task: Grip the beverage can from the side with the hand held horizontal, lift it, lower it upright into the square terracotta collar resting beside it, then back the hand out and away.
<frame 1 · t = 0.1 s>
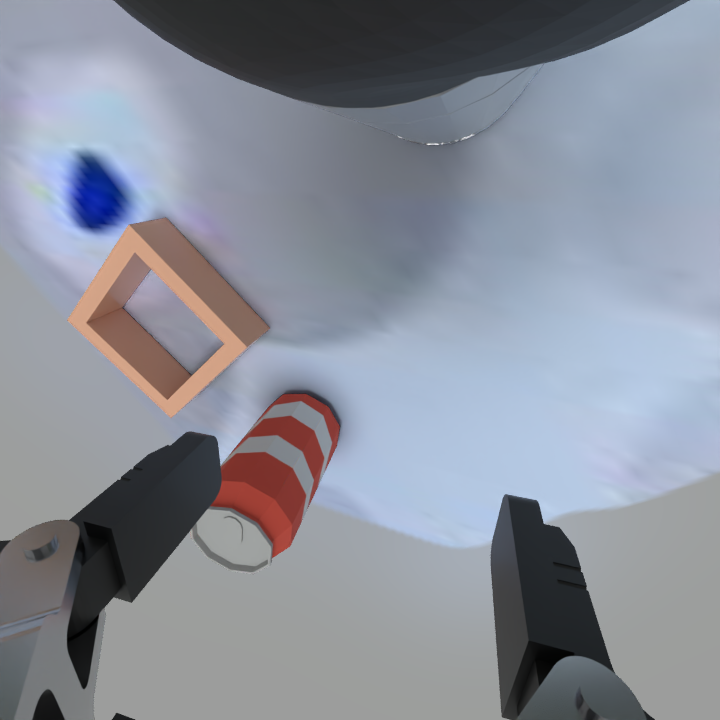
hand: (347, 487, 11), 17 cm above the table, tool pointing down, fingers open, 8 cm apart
terracotta collar: (183, 316, 31), on the table
beverage can: (306, 420, 33), on the table
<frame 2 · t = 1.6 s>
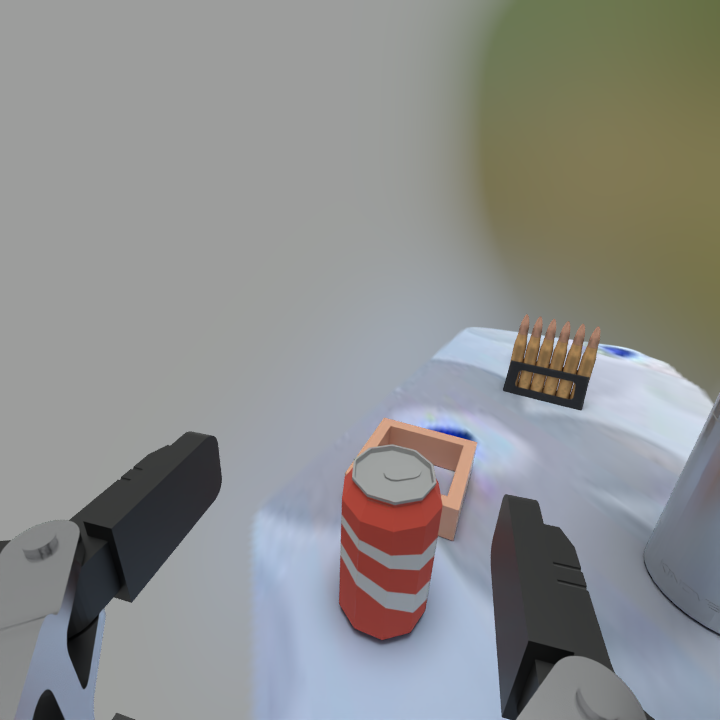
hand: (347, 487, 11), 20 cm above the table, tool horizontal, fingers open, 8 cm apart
terracotta collar: (412, 484, 40), on the table
beverage can: (381, 601, 29), on the table
ammunition clip: (540, 398, 58), on the table
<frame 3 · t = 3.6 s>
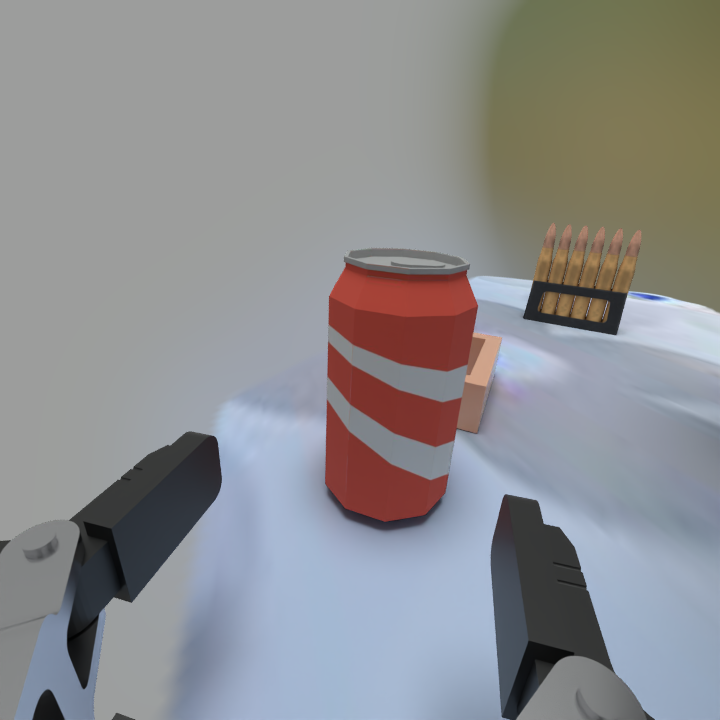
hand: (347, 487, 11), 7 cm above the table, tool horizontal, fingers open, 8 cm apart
terracotta collar: (422, 384, 32), on the table
beverage can: (383, 488, 21), on the table
ammunition clip: (567, 326, 51), on the table
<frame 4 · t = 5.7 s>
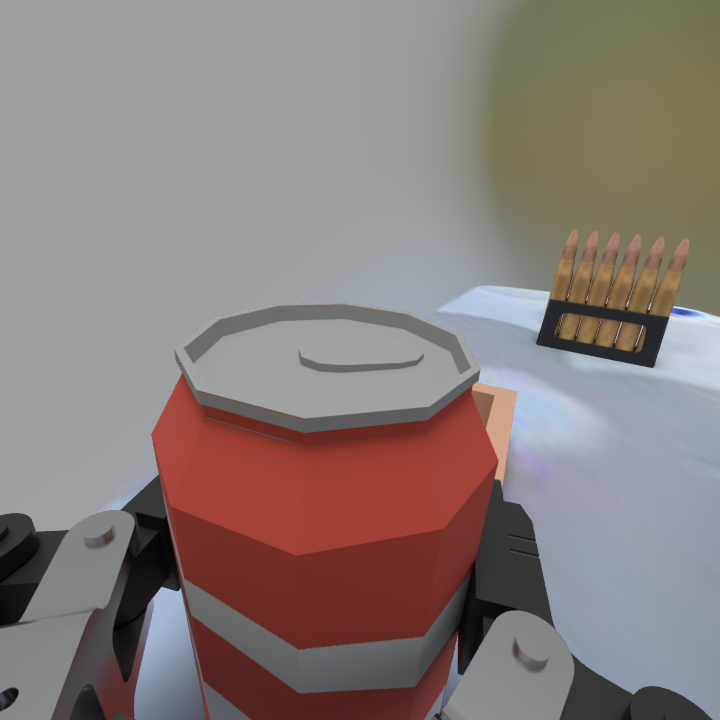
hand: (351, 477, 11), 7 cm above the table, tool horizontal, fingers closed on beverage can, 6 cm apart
terracotta collar: (405, 460, 23), on the table
beverage can: (323, 715, 12), on the table, touching gripper
ammunition clip: (590, 354, 41), on the table
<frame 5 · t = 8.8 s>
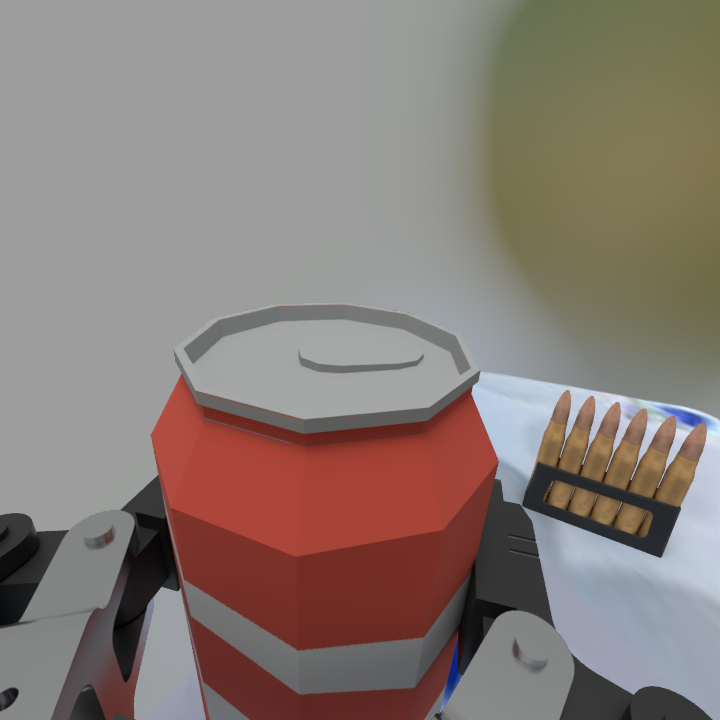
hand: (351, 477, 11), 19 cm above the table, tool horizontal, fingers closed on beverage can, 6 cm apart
beverage can: (323, 715, 12), point 11 cm above the table, touching gripper
ammunition clip: (586, 525, 35), on the table
when the fingers open (9 cm above the table, at t = 11.8 s): beverage can drops 2 cm, resting in terracotta collar.
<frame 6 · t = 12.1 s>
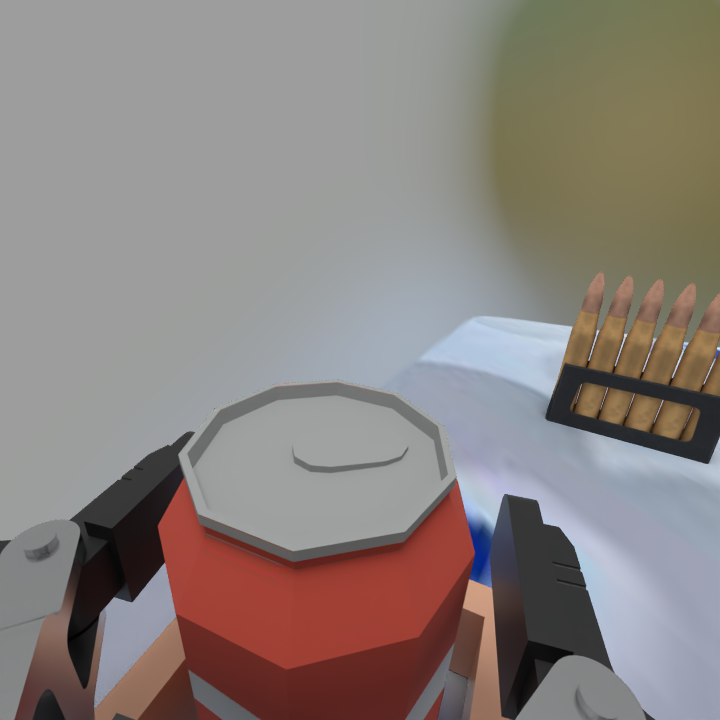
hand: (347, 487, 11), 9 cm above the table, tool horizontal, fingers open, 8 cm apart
ammunition clip: (619, 436, 31), on the table
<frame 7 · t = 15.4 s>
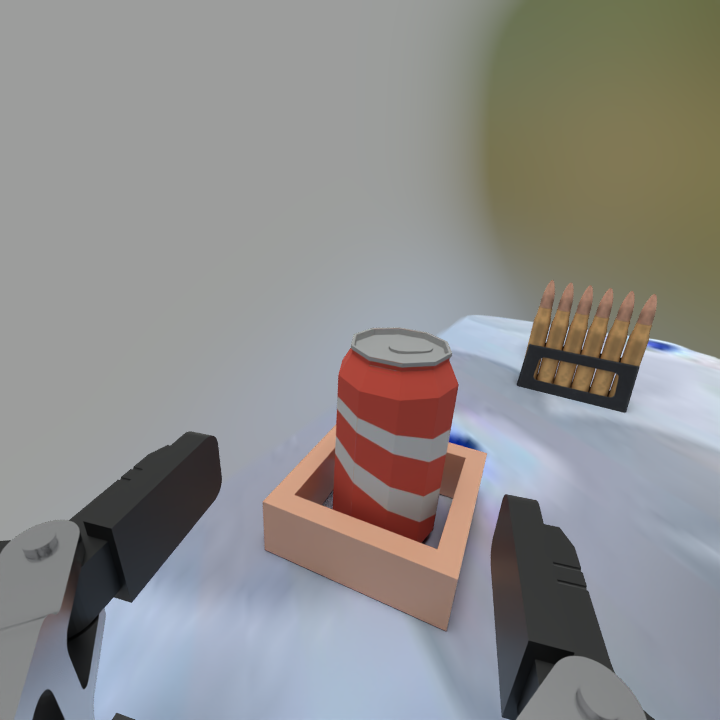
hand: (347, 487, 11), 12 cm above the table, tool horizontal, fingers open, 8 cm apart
terracotta collar: (382, 519, 25), on the table
beverage can: (381, 523, 25), resting in terracotta collar
ammunition clip: (568, 396, 43), on the table
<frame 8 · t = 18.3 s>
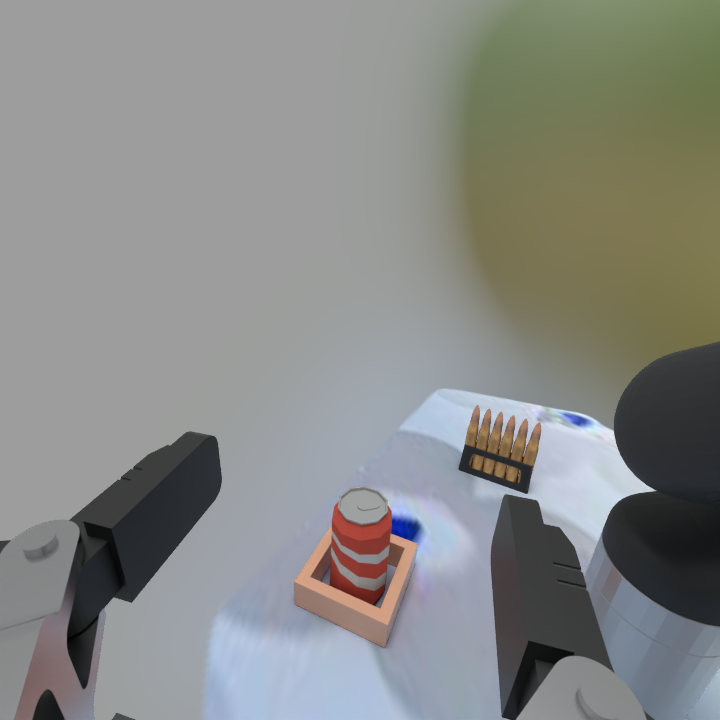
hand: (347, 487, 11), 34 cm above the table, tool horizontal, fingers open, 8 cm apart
terracotta collar: (358, 583, 45), on the table
beverage can: (357, 585, 45), resting in terracotta collar
ammunition clip: (492, 479, 63), on the table
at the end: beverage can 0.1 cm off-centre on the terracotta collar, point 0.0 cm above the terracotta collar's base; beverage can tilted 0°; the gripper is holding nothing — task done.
